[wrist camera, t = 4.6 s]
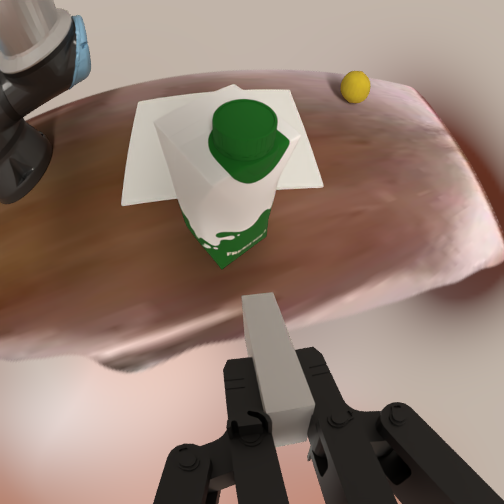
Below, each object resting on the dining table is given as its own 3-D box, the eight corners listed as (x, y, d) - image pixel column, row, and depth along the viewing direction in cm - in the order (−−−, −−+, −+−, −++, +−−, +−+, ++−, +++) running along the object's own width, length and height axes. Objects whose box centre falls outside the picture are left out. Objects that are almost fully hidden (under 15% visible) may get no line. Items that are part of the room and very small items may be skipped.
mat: (139, 103, 43) (138, 101, 42) (289, 91, 46) (289, 90, 45) (122, 206, 35) (121, 204, 34) (322, 187, 38) (323, 185, 38)
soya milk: (220, 280, 32) (206, 176, 14) (177, 225, 34) (135, 99, 16) (276, 237, 35) (321, 114, 16) (232, 188, 37) (235, 57, 18)
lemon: (362, 114, 45) (376, 84, 38) (335, 105, 45) (347, 73, 38) (362, 99, 47) (374, 70, 40) (336, 90, 47) (347, 60, 40)
